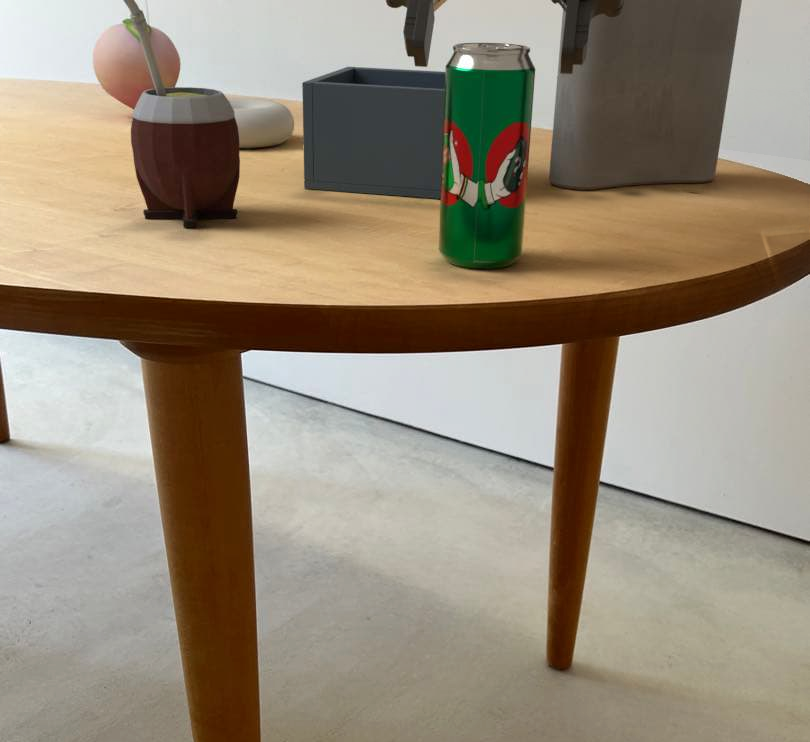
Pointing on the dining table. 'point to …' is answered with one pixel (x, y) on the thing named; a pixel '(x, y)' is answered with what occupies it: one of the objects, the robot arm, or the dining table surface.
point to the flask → (646, 96)
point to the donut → (261, 122)
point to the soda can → (485, 154)
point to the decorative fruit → (133, 62)
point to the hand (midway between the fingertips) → (492, 60)
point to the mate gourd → (183, 146)
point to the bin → (374, 131)
